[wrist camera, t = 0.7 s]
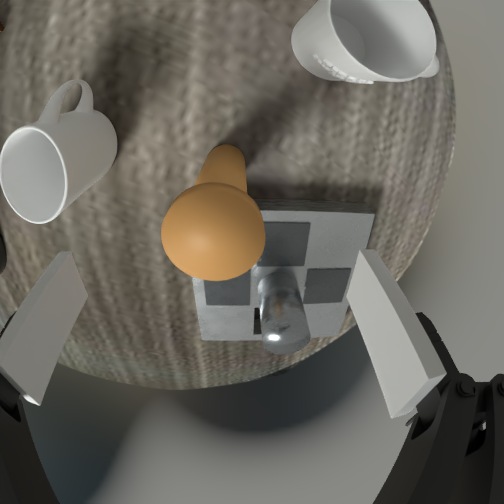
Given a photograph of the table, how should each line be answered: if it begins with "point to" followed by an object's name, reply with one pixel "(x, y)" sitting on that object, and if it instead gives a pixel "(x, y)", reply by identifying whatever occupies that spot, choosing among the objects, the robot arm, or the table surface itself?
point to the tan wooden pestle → (215, 221)
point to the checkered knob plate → (290, 276)
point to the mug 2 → (366, 41)
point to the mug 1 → (56, 157)
